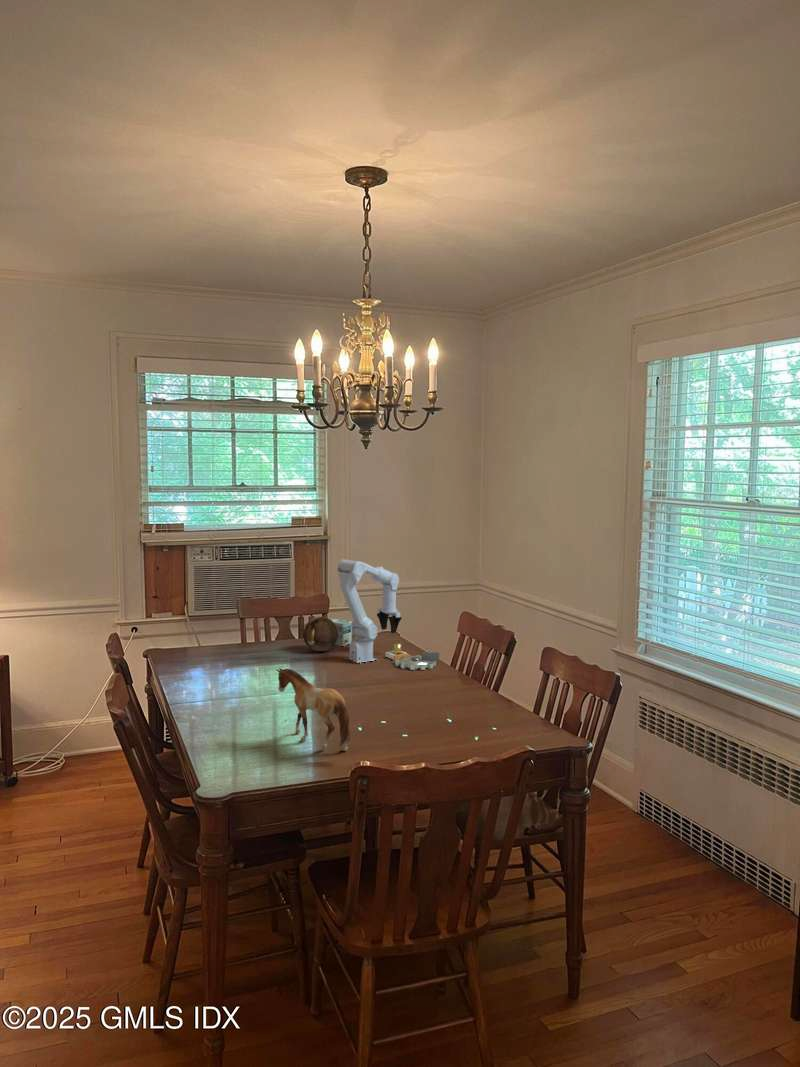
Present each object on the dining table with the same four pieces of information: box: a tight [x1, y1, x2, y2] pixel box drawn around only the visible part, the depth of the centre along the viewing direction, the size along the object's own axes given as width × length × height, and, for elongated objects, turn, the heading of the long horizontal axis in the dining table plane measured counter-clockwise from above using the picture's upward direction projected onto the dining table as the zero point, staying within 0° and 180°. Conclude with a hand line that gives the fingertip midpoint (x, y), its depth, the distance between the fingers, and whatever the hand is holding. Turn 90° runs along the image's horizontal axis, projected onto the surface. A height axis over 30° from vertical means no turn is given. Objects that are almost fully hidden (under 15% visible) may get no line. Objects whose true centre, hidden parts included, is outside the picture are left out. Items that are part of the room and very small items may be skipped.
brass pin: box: [393, 642, 402, 655], centre depth 321 cm, size 3×3×6 cm
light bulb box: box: [330, 618, 353, 647], centre depth 343 cm, size 11×7×11 cm, turn 58°
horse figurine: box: [275, 667, 351, 752], centre depth 220 cm, size 31×8×21 cm, turn 47°
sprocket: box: [394, 651, 440, 671], centre depth 310 cm, size 16×18×5 cm
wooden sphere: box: [302, 616, 338, 652], centre depth 329 cm, size 15×15×15 cm
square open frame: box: [385, 650, 410, 661], centre depth 321 cm, size 7×7×2 cm
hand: (388, 631), depth 327 cm, fingers open, 7 cm apart
